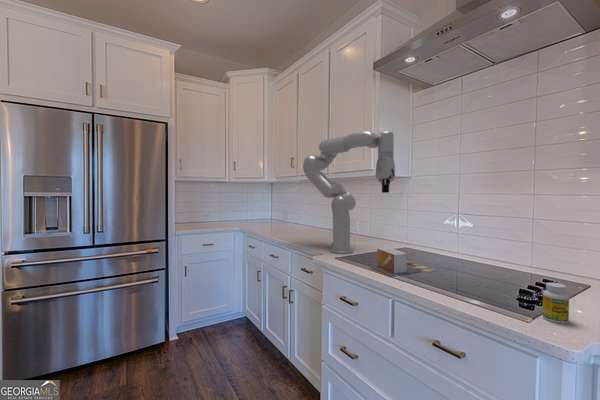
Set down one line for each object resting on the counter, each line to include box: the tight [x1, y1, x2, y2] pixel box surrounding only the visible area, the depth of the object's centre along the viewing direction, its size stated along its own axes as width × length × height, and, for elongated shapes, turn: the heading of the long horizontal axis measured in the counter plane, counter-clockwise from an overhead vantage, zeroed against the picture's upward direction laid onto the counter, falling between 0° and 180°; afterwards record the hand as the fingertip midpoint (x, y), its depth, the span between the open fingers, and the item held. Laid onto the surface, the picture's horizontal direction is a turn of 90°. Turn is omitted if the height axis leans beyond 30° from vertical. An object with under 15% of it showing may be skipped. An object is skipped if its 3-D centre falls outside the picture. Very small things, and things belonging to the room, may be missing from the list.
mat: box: [369, 266, 422, 278], centre depth 127 cm, size 14×16×1 cm
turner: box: [407, 260, 436, 273], centre depth 132 cm, size 17×5×1 cm, turn 23°
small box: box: [376, 247, 408, 273], centre depth 127 cm, size 8×6×13 cm
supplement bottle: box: [542, 282, 570, 325], centre depth 79 cm, size 5×5×10 cm
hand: (385, 192), depth 149 cm, fingers closed
